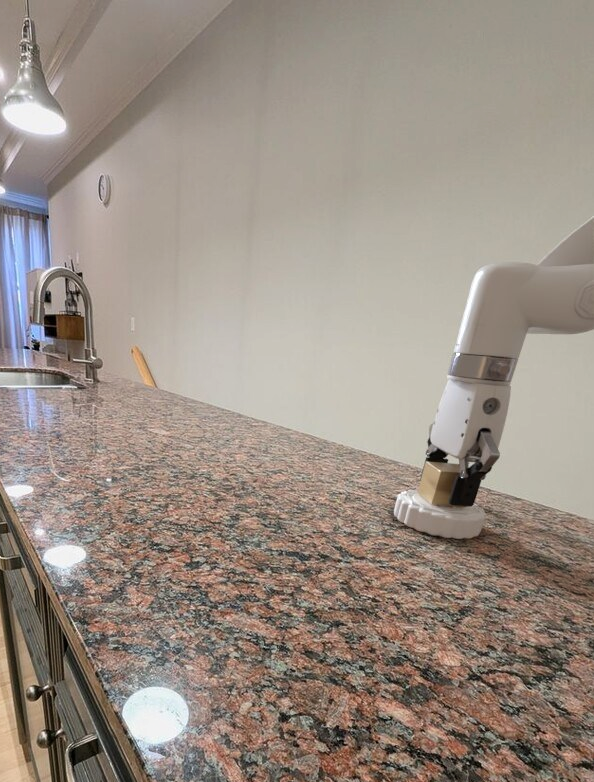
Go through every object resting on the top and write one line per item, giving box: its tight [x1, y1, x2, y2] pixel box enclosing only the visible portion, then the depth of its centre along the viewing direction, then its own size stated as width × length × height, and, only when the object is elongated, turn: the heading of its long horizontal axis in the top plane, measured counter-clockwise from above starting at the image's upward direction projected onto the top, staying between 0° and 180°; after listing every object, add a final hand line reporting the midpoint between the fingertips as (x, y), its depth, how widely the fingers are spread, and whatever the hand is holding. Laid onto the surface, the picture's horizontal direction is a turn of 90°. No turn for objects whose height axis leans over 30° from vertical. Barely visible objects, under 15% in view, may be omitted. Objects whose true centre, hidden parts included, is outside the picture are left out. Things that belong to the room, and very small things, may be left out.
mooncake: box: [393, 489, 487, 540], centre depth 66 cm, size 12×12×4 cm
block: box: [417, 461, 466, 507], centre depth 65 cm, size 5×5×5 cm
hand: (444, 493), depth 65 cm, fingers open, 8 cm apart
